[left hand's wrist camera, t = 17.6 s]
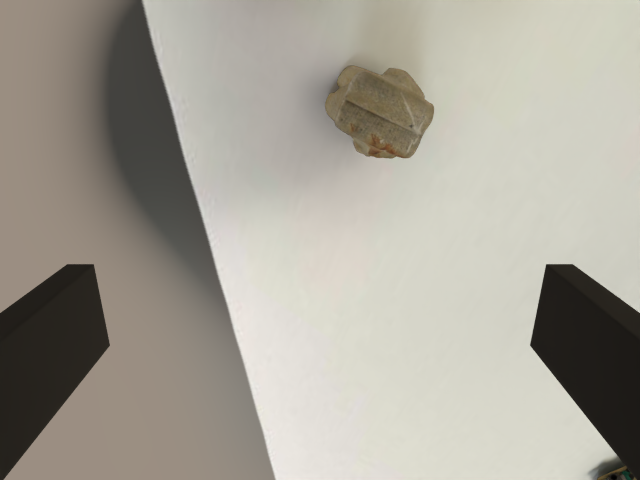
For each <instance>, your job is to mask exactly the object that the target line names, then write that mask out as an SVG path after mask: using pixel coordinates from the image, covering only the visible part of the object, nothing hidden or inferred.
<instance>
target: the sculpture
mask: <svg viewBox="0 0 640 480" xmlns="http://www.w3.org/2000/svg"><path fill="white" fill-rule="evenodd" d="M337 84H338V86H339V89H338V90H337V91H336V92H334V93H330V94H329V96H328V98H327V100H326V103H325V108H326V112H327V114H328V115H329V116H330V117H331V118H332V119H333V120H334V121H335V125H336V126H337V127H338V128H339V129H340V130H342V131H343V132H345V133H346V134H348V135H350V136H351V137H352V138H353V142H354V146H355V149H356V151H357V152H359V153H362V154H364V155H366V156H373V157H376V158H394V157H396V156H397V157H401V158H410V157H411V156H412V155H413V154H414V153H415V151H416V149H417V147H418V145H419V143H420V140H421V138H422V136H423V134H424V132H425V130H426V129H427V128H428V126H429V125H430V123H431V121H432V119H433V114H434V107H433V104H431V103H429V102H428V101H426V100H425V99H424V94H423V92H422V91H421V89H420V88H419V86H418V85H417V84H416V82H415V81H414V80H413V78H412V77H411V76H410V75H409V74H408V73H407V72H405V71H403V70H400V69H394V68H389V69H388V70H387V71H386V72H385V73H384V74H383V75H379V74H376V73H373V72H371V71H368V70H366V69H363V68H360V67H356V66H348V67H347V68H345V69H344V70H343V72H342V73H341V74H340V76H339V77H338V81H337Z"/></svg>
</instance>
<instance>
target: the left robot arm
mask: <svg viewBox="0 0 640 480" xmlns="http://www.w3.org/2000/svg"><path fill="white" fill-rule="evenodd" d="M109 346H110V344H109V339H108V334H107V329H106V324H105V319H104V314H103V309H102V304H101V299H100V294H99V289H98V284H97V279H96V273H95V269H94V265H93V264H67V265H66V266H64V267H63V268H62V269H60V270H59V271H58V272H56V273H55V274H53V275H52V276H51V277H49V278H48V279H47V280H45V281H44V282H43V283H41V284H40V285H38V286H37V287H36V288H34V289H33V290H31V291H30V292H29V293H27V294H26V295H25V296H23V297H22V298H20V299H19V300H18V301H16V302H15V303H14V304H12V305H11V306H9V307H8V308H7V309H5V310H4V311H3V312H1V313H0V480H4V478H5V477H6V476H7V474H8V473H9V472H10V471H11V469H12V468H13V467H14V466H15V464H16V463H17V462H18V461H19V459H20V458H21V457H22V456H23V454H24V453H25V452H26V451H27V449H28V448H29V447H30V445H31V444H32V443H33V442H34V440H35V439H36V438H37V437H38V435H39V434H40V433H41V432H42V430H43V429H44V428H45V427H46V425H47V424H48V423H49V421H50V420H51V419H52V418H53V416H54V415H55V414H56V413H57V411H58V410H59V409H60V408H61V406H62V405H63V404H64V403H65V401H66V400H67V399H68V397H69V396H70V395H71V394H72V393H73V391H74V390H75V389H76V387H77V386H78V385H79V384H80V382H81V381H82V380H83V379H84V377H85V376H86V375H87V374H88V372H89V371H90V370H91V368H92V367H93V366H94V365H95V363H96V362H97V361H98V360H99V358H100V357H101V356H102V355H103V353H104V352H105V351H106V350H107V348H108V347H109ZM530 346H531V347H532V348H533V350H534V351H535V352H536V353H537V355H538V356H539V357H540V358H541V360H542V361H543V362H544V364H545V365H546V366H547V367H548V369H549V370H550V371H551V372H552V374H553V375H554V376H555V377H556V379H557V380H558V381H559V382H560V384H561V385H562V386H563V387H564V389H565V390H566V391H567V393H568V394H569V395H570V396H571V398H572V399H573V400H574V401H575V403H576V404H577V405H578V406H579V408H580V409H581V410H582V411H583V413H584V414H585V415H586V416H587V418H588V419H589V420H590V422H591V423H592V424H593V425H594V427H595V428H596V429H597V430H598V432H599V433H600V434H601V435H602V437H603V438H604V439H605V440H606V442H607V443H608V444H609V445H610V447H611V448H612V449H613V451H614V452H615V453H616V454H617V456H618V457H619V458H620V459H621V461H622V462H623V463H624V464H625V466H626V467H627V468H628V469H629V471H630V472H631V473H632V474H633V476H634V477H635V478H636V480H640V313H639V312H637V311H636V310H635V309H633V308H632V307H631V306H629V305H628V304H626V303H625V302H624V301H622V300H621V299H620V298H618V297H617V296H615V295H614V294H613V293H611V292H610V291H609V290H607V289H606V288H604V287H603V286H602V285H600V284H599V283H598V282H596V281H595V280H593V279H592V278H591V277H589V276H588V275H587V274H585V273H584V272H582V271H581V270H580V269H578V268H577V267H576V266H574V265H573V264H546V268H545V273H544V278H543V284H542V289H541V294H540V299H539V304H538V309H537V314H536V319H535V324H534V329H533V334H532V339H531V344H530Z"/></svg>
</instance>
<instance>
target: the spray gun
mask: <svg viewBox="0 0 640 480" xmlns="http://www.w3.org/2000/svg"><path fill="white" fill-rule="evenodd" d="M627 469H628V468H627V467H626V466H624V467H622V468H619V469H617V470H615V471H612V472H610V473H608V474H605V475H603V476H601V477H599V478H598V479H597V480H604V479H606V478H608V479H609V480H636V478H635V477H634V476H633V474H632V473H631V472H627V471H625V470H627ZM620 472H622V475H621V474H620Z"/></svg>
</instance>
